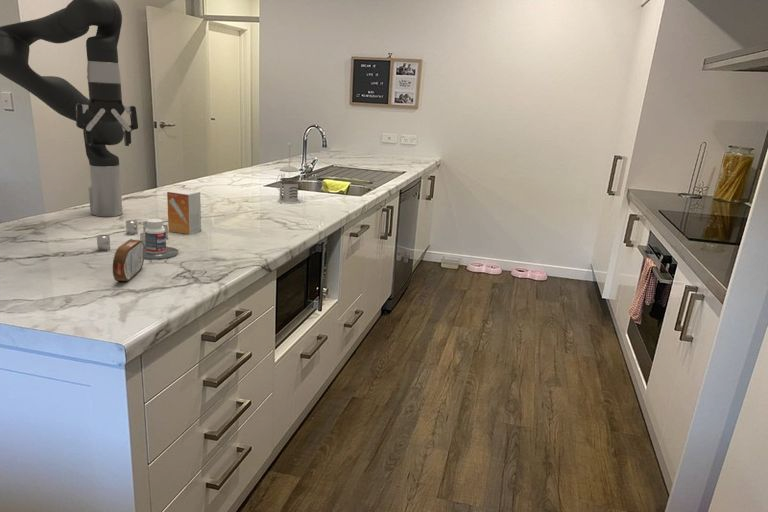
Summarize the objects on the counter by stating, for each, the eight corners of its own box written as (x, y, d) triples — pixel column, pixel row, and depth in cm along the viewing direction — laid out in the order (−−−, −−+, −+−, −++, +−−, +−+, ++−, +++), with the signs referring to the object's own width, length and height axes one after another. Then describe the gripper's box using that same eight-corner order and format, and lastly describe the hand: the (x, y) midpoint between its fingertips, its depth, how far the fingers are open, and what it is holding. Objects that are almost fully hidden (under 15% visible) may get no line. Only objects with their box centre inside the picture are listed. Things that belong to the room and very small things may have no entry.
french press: (305, 202, 239) (306, 143, 232) (286, 205, 229) (287, 144, 222) (287, 198, 244) (288, 140, 237) (269, 201, 234) (269, 141, 227)
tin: (134, 266, 143) (132, 234, 140) (147, 267, 143) (145, 235, 141) (112, 286, 128) (109, 251, 126) (126, 286, 129) (124, 251, 126)
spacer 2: (138, 248, 158) (137, 234, 157) (144, 245, 161) (143, 232, 160) (149, 249, 158) (148, 235, 157) (154, 246, 161) (154, 233, 160)
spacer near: (95, 251, 153) (94, 237, 152) (102, 248, 156) (101, 234, 155) (106, 252, 153) (105, 238, 152) (112, 249, 156) (111, 235, 155)
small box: (168, 231, 178) (166, 191, 174) (180, 227, 183) (179, 188, 180) (189, 235, 175) (188, 194, 172) (201, 230, 181) (200, 191, 178)
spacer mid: (141, 236, 171) (140, 223, 169) (146, 233, 174) (146, 221, 173) (151, 236, 170) (150, 224, 169) (156, 234, 173) (156, 222, 172)
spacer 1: (124, 234, 171) (123, 221, 170) (130, 232, 174) (129, 219, 173) (134, 235, 171) (133, 222, 169) (139, 233, 174) (139, 220, 173)
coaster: (127, 257, 149) (127, 255, 149) (148, 246, 160) (148, 244, 160) (166, 261, 148) (166, 259, 148) (185, 250, 159) (185, 248, 159)
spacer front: (154, 239, 168) (154, 226, 167) (159, 236, 171) (159, 224, 170) (164, 240, 168) (164, 227, 167) (169, 237, 171) (169, 225, 170)
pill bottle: (159, 255, 151) (157, 223, 148) (141, 253, 152) (140, 221, 149) (170, 250, 156) (168, 219, 153) (153, 248, 157) (151, 217, 154)
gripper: (74, 79, 134) (80, 147, 139) (137, 83, 142) (141, 147, 147) (70, 78, 140) (76, 144, 145) (131, 82, 148) (135, 144, 153)
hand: (109, 145), depth 146 cm, fingers open, 8 cm apart
